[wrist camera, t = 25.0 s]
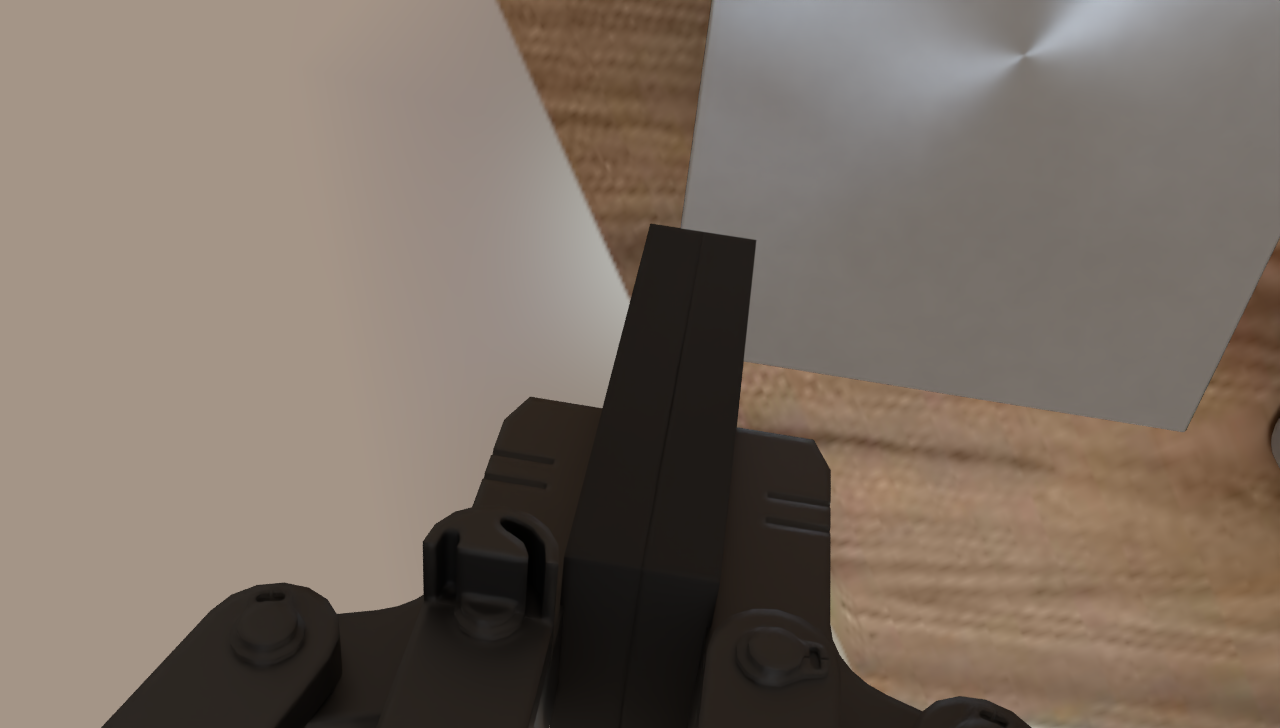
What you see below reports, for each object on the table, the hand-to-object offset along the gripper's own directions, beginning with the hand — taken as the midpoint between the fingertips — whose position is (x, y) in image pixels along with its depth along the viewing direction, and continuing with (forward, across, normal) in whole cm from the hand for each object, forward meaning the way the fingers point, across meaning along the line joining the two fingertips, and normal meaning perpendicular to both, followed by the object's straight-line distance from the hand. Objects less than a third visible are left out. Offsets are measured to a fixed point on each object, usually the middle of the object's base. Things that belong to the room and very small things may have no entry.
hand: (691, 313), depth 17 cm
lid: (+14, +6, 0) cm, 15 cm away
